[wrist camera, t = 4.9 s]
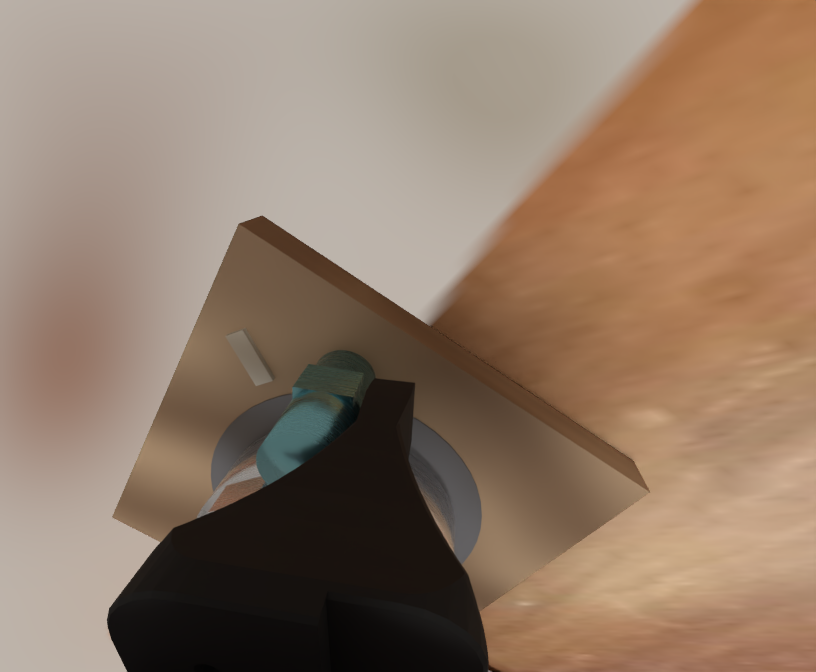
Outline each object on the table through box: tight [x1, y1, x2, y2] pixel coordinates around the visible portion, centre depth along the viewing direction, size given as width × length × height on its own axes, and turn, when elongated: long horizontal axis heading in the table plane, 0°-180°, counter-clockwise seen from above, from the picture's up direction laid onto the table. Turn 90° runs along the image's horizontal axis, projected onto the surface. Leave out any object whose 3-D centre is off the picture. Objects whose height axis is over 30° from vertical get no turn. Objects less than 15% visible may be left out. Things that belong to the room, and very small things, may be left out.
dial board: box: [113, 216, 650, 611], centre depth 17 cm, size 16×16×2 cm
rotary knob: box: [196, 350, 455, 552], centre depth 13 cm, size 12×9×4 cm
